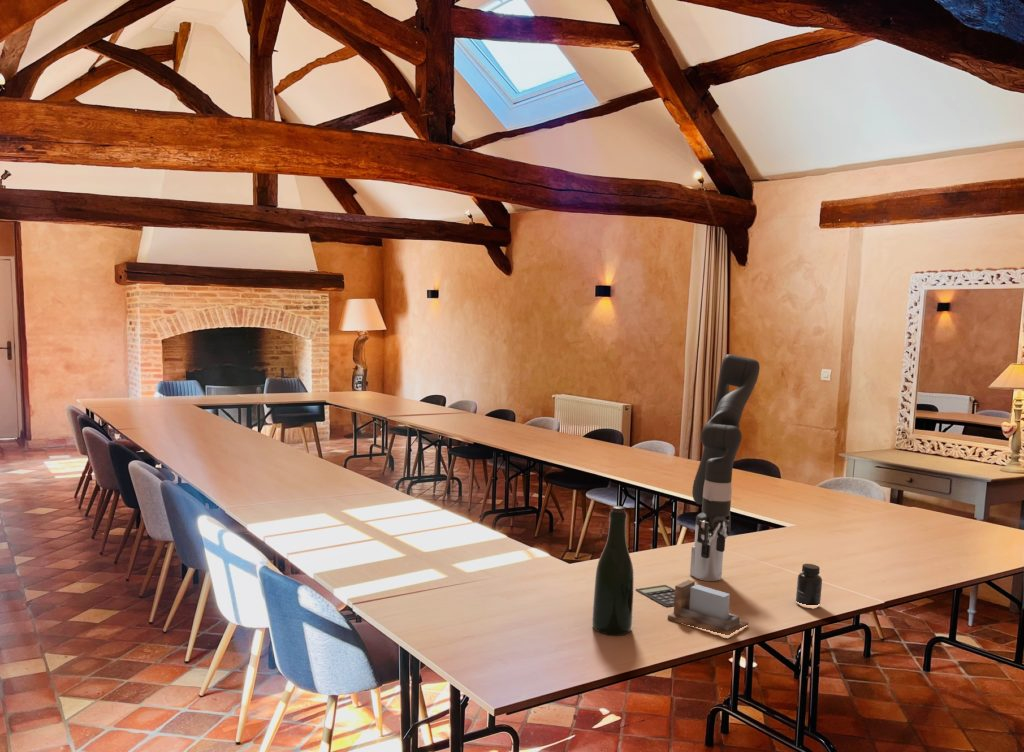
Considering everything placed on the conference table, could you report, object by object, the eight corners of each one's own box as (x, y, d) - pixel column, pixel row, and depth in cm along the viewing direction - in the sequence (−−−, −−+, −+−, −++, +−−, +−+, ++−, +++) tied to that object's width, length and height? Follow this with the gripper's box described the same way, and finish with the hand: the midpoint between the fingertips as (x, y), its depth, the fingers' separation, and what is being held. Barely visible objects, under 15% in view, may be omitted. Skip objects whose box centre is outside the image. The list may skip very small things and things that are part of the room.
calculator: (666, 605, 224) (635, 588, 237) (666, 608, 224) (634, 591, 237) (697, 600, 229) (665, 584, 242) (697, 603, 229) (665, 587, 242)
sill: (667, 619, 214) (669, 587, 214) (688, 608, 223) (690, 577, 223) (727, 639, 202) (730, 605, 202) (747, 627, 211) (750, 594, 211)
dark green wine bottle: (627, 621, 212) (634, 502, 209) (634, 637, 201) (642, 512, 199) (589, 620, 211) (595, 501, 209) (594, 635, 201) (601, 511, 198)
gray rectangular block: (688, 615, 215) (690, 587, 214) (695, 612, 217) (696, 584, 217) (722, 626, 208) (724, 597, 208) (728, 622, 211) (730, 594, 210)
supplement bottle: (792, 605, 230) (795, 565, 229) (799, 599, 235) (802, 560, 234) (816, 611, 226) (819, 571, 225) (823, 605, 231) (826, 566, 230)
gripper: (716, 490, 219) (712, 546, 221) (691, 497, 209) (687, 556, 210) (741, 495, 214) (737, 552, 216) (717, 503, 204) (712, 563, 205)
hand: (712, 554), depth 213 cm, fingers open, 8 cm apart
